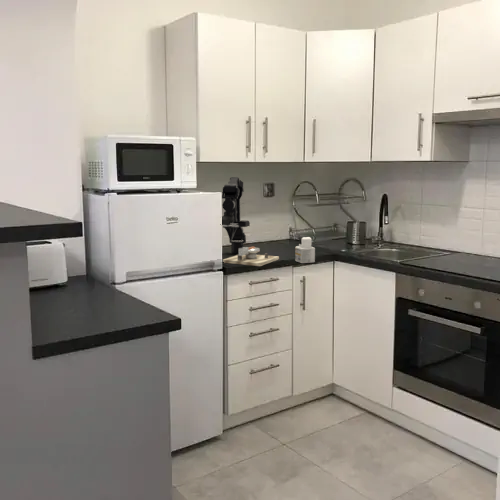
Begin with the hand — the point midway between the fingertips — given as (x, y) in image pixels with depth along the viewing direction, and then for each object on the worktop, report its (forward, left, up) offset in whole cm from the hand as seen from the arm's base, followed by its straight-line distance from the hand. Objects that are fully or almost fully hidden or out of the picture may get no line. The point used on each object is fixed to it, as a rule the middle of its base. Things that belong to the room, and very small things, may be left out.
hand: (231, 239), depth 284 cm
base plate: (+7, +9, -12) cm, 17 cm away
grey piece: (+6, +6, -8) cm, 12 cm away
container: (+33, +20, -12) cm, 40 cm away
